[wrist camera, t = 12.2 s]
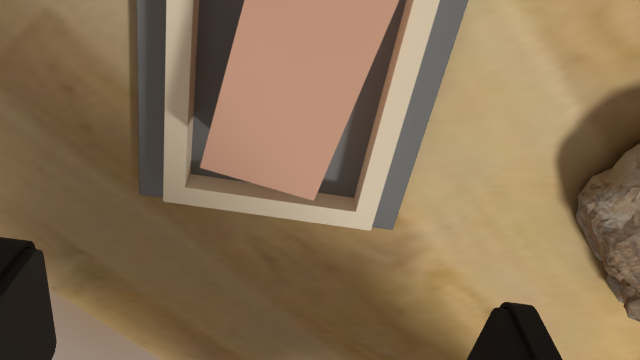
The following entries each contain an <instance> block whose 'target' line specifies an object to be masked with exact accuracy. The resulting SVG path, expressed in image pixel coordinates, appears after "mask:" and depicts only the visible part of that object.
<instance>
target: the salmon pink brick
mask: <svg viewBox="0 0 640 360" xmlns="http://www.w3.org/2000/svg"><path fill="white" fill-rule="evenodd" d="M398 2H399V0H244V4H243V8H242V11H241V15H240V19H239V23H238V26H237V30H236V34H235V38H234V41H233V45H232V49H231V53H230V56H229V60H228V64H227V68H226V71H225V75H224V79H223V83H222V87H221V90H220V94H219V98H218V102H217V105H216V109H215V113H214V117H213V120H212V124H211V128H210V132H209V135H208V139H207V143H206V147H205V150H204V154H203V158H202V162H201V166H200V168H203V169H206V170H209V171H213V172H216V173H220V174H223V175H227V176H230V177H233V178H237V179H240V180H244V181H247V182H251V183H254V184H258V185H261V186H264V187H268V188H271V189H275V190H278V191H282V192H285V193H289V194H292V195H295V196H299V197H302V198H306V199H309V200H313V201H314V199H315V197H316V195H317V192H318V190H319V188H320V185H321V183H322V180H323V178H324V176H325V173H326V171H327V169H328V166H329V164H330V162H331V159H332V157H333V155H334V152H335V150H336V148H337V145H338V143H339V141H340V138H341V136H342V133H343V131H344V129H345V126H346V124H347V122H348V119H349V117H350V115H351V112H352V110H353V108H354V105H355V103H356V101H357V98H358V96H359V94H360V91H361V89H362V86H363V84H364V82H365V79H366V77H367V75H368V72H369V70H370V68H371V65H372V63H373V61H374V58H375V56H376V54H377V51H378V49H379V47H380V44H381V42H382V40H383V37H384V35H385V32H386V30H387V28H388V25H389V23H390V21H391V18H392V16H393V14H394V11H395V9H396V7H397V4H398Z"/></svg>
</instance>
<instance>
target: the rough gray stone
mask: <svg viewBox="0 0 640 360" xmlns="http://www.w3.org/2000/svg"><path fill="white" fill-rule="evenodd" d="M578 203H579V205H578V209H577V212H576V218H577V222H578V225H579V226H580V228H581V230H582V231H583V233H584V235H585V238H586V241H587V243H588V245H589V246H590V248H591V250H592V251H593V253H594V255H595V256H596V257H597V258H598V259H599V260H600V261H603V264H604V268H605V270H606V271H607V273H608V275H607V280H606V281H607V283H608V285H609V286H610V288H611V290H612V291H613V293H614V295H615V296H616V298H617V299H618V300H619V301H620V302H622V303H624V308H625V309H626V312H627V316H628V317H629V318H631V319H634V320H637V321H639V322H640V143H639V144H638V145H636V146H634V147H633V148H631V149H630V150H628V151H627V152H625V153H624V154H623V155H622V157H621V158H620V159H619V160H618V161H617V163H616V164H615V165H614V167H612V168H611V169H608V170H606V171H604V172H602V173H600V174H597V175H594V176H592V177H591V178H590V180H589V181H588V183H587V184H586V185H585V187H584V188H583V189H582V191H581V192H580V193H579V194H578Z"/></svg>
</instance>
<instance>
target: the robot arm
mask: <svg viewBox="0 0 640 360" xmlns="http://www.w3.org/2000/svg"><path fill="white" fill-rule="evenodd" d="M55 348H56V334H55V328H54V321H53V314H52V308H51V302H50V295H49V288H48V281H47V275H46V268H45V261H44V255H43V252H42V251H41V250H37V249H36V248H35V245H34V243H33V242H32V241H26V240H18V239H10V238H3V237H0V360H51V359H52V357H53V355H54V352H55ZM467 360H562V358H561V356H560V354H559V352H558V350H557V348H556V346H555V344H554V343H553V341H552V339H551V337H550V335H549V333H548V331H547V329H546V327H545V325H544V323H543V322H542V320H541V318H540V316H539V314H538V312H537V310H536V309H535V308H534V307H533V306H531V305H526V304H518V303H510V302H504V303H503V304H501V306H500V307H499V308H494V309H493V311H492V312H491V314H490V316H489V318H488V320H487V322H486V324H485V326H484V328H483V329H482V331H481V333H480V335H479V337H478V339H477V341H476V343H475V345H474V347H473V349H472V351H471V353H470V354H469V356H468V358H467Z"/></svg>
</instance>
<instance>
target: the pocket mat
mask: <svg viewBox="0 0 640 360" xmlns="http://www.w3.org/2000/svg"><path fill="white" fill-rule="evenodd" d="M467 3H468V0H399V2H398V4H397V7H396V9H395V11H394V14H393V16H392V18H391V21H390V23H389V25H388V28H387V30H386V32H385V35H384V37H383V40H382V42H381V44H380V47H379V49H378V51H377V54H376V56H375V58H374V61H373V63H372V65H371V68H370V70H369V72H368V75H367V77H366V79H365V82H364V84H363V86H362V89H361V91H360V94H359V96H358V98H357V101H356V103H355V105H354V108H353V110H352V112H351V115H350V117H349V119H348V122H347V124H346V126H345V129H344V131H343V133H342V136H341V138H340V141H339V143H338V145H337V148H336V150H335V152H334V155H333V157H332V159H331V162H330V164H329V166H328V169H327V171H326V173H325V176H324V178H323V180H322V183H321V185H320V188H319V190H318V192H317V195H316V197H315V199H314V201H313V200H309V199H306V198H302V197H299V196H295V195H292V194H289V193H285V192H282V191H278V190H275V189H271V188H268V187H264V186H261V185H258V184H254V183H251V182H247V181H244V180H240V179H237V178H233V177H230V176H227V175H223V174H220V173H216V172H213V171H209V170H206V169H203V168H200V166H201V162H202V158H203V154H204V150H205V147H206V143H207V139H208V135H209V132H210V128H211V124H212V120H213V117H214V113H215V109H216V105H217V102H218V98H219V94H220V90H221V87H222V83H223V79H224V75H225V71H226V68H227V64H228V60H229V56H230V53H231V49H232V45H233V41H234V38H235V34H236V30H237V26H238V23H239V19H240V15H241V11H242V8H243V4H244V0H137V54H138V125H139V194H141V195H149V196H156V197H163V202H170V203H177V204H184V205H191V206H198V207H205V208H213V209H220V210H227V211H234V212H241V213H248V214H255V215H262V216H270V217H277V218H284V219H291V220H298V221H305V222H312V223H319V224H327V225H334V226H341V227H348V228H355V229H362V230H369V231H371V228H372V227H375V228H382V229H389V230H393V227H394V224H395V221H396V218H397V215H398V212H399V209H400V206H401V203H402V200H403V197H404V194H405V191H406V188H407V185H408V182H409V179H410V175H411V172H412V169H413V166H414V163H415V160H416V157H417V154H418V151H419V148H420V145H421V142H422V139H423V136H424V133H425V130H426V127H427V124H428V121H429V118H430V115H431V112H432V109H433V106H434V103H435V100H436V97H437V94H438V91H439V87H440V84H441V81H442V78H443V75H444V72H445V69H446V66H447V63H448V60H449V57H450V54H451V51H452V48H453V45H454V42H455V39H456V36H457V33H458V30H459V27H460V24H461V21H462V18H463V15H464V12H465V9H466V6H467Z"/></svg>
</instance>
